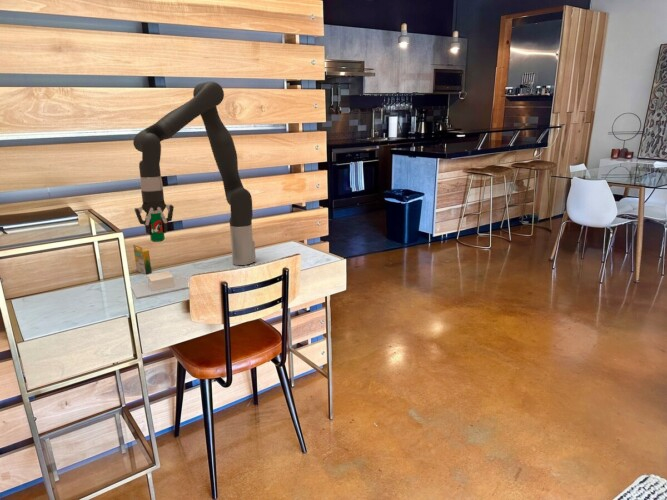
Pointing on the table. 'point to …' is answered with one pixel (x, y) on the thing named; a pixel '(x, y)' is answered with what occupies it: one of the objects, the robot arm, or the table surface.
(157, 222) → the soda can
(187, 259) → the table surface
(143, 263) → the crayon box
